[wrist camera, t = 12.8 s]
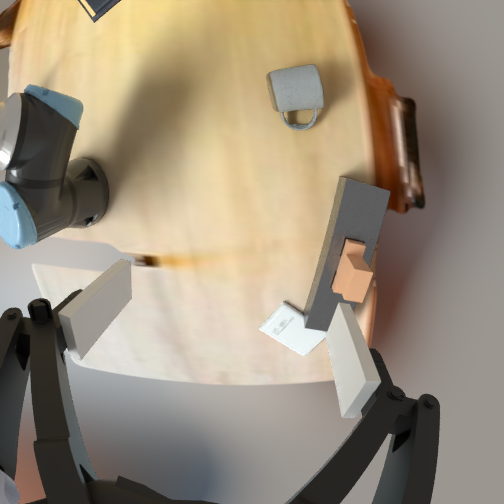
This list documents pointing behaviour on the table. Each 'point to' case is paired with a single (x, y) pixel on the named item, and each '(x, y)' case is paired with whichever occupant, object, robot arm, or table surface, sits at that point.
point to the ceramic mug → (296, 91)
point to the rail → (340, 226)
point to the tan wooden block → (352, 272)
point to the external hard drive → (291, 329)
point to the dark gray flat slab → (97, 7)
